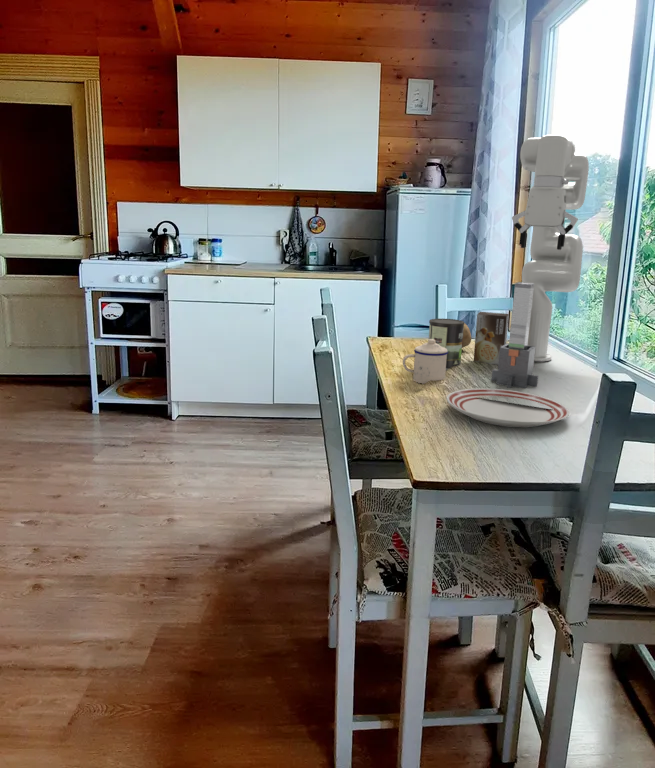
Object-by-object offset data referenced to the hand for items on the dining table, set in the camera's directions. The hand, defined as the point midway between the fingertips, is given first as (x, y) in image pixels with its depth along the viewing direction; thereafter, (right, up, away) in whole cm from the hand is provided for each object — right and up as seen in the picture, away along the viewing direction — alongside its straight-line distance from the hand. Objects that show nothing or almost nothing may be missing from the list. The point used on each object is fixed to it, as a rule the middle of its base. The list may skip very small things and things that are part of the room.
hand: (541, 248), depth 178 cm
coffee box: (-9, -32, +21) cm, 39 cm away
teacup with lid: (-33, -37, -1) cm, 49 cm away
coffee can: (-24, -33, +17) cm, 44 cm away
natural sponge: (-15, -26, +44) cm, 53 cm away
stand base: (-9, -39, -5) cm, 40 cm away
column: (-9, -32, -7) cm, 34 cm away
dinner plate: (-18, -45, -29) cm, 57 cm away
